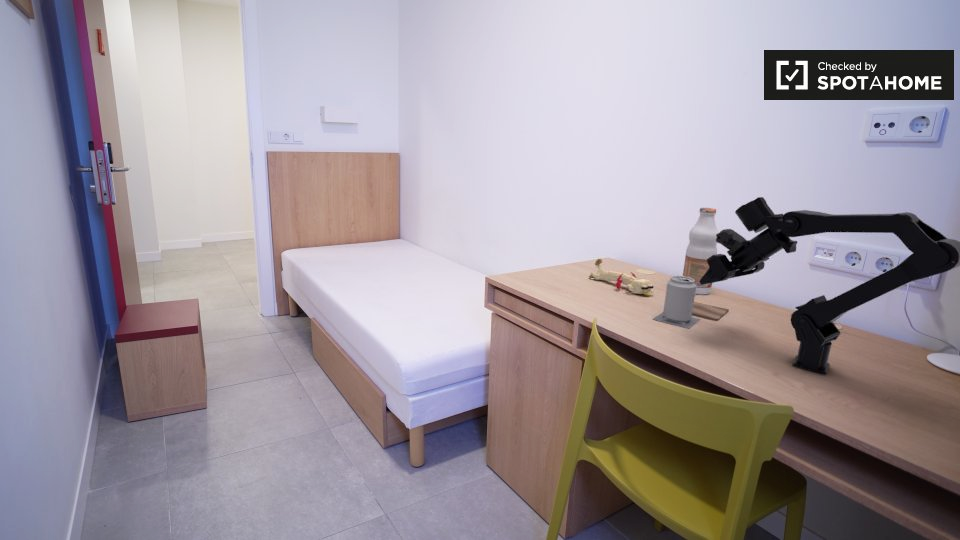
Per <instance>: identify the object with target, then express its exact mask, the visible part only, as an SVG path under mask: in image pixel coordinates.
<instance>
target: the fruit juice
mask: <svg viewBox="0 0 960 540" xmlns="http://www.w3.org/2000/svg"><path fill="white" fill-rule="evenodd" d="M716 215H717V209H716V208H713V207H700V208H699V218H698V219H697V221H696V222H695V224H694V226H693V227H692V228H691V229H690V230H689V234H688V240H689V243H688V245H687V247H686V251H685V256H684V257H685V258H684V265H683V272H682V276H685V277H690V278H692V279H694V280H695V281H694V283H695V284H696V292H695V295H700V296H701V295H708V294H710V293H711V291H712V287H713V283H708V284H703V285H701V284H700V282H699V281H700V279H701V278H702V277H703V276H704V274H705V273H706V272H707V270H708V269H709V265H708V262H707V259H708V258H709V257H711V256H712V255H716V254H718V248H717V244H718V242H716V238H717V236H716V234H718V233H720V232H719V230H718V228H717V225H716V220H715V216H716Z"/></svg>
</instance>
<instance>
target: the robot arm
mask: <svg viewBox="0 0 960 540" xmlns="http://www.w3.org/2000/svg"><path fill="white" fill-rule="evenodd" d="M734 213H735V215H736V216H737V218H738V219H739V220H740V222H741V223H742V224H743V226H744V228H745V229H746V230H747V232H749V233H750V232H754V233H755V234H757V235H755V236H754V237H752V238H751V239H748V240H747V239H746V238H745V237H743V236H742V235H741V234H740V233H738V232H737V231H735V230H733V229H731V228H726V229H722V230H720V232H719V233H718V234H716V236H717V238H716V242H717V244H720V245H722V246H723V247H724V248H726V249H727V251H726V253H727V254H728V256H730V259H729V258H728V257H727V255H726V254H723V253H717V254H716V255H712V256H711V257H709V258H708V259H707V262H708V265H709V269H708V270H707V272H706V273H705V274H704V276H703V277H702V278H701V279H700V281H699V282H700V284H701V285H703V284H708V283H712V284H714V283H718V282H724V281H728V279H733V278H738V277H744V276H747V275H752V274H756V273H758V272H760V271H762V270H763V269H765V264H766V263H765V262H767V261H769V260H770V257H772V256H774V255H775V254H777V253H778V252H780V251H782V250H784V252H785V253H786V254H791V253H795V252H796V251H797V244H798V241H797V240H793V239H791V238H796V237H804V236H812V235H818V234H825V233H865V234H866V233H868V234H869V233H871V234H872V233H874V234H875V233H876V234H877V233H880V234H881V233H882V234H885V233H886V234H887V233H890V234H891V233H892V234H894V235H895V236H896V237H897V238H898V239H899V240H900V241H901V242H902V244H903V245H904V246H905V247H906V248H907V249H908V251H910V252H911V254H910V255H909V256H908V257H906V258H905V259H904V260H902V261H901V262H900V263H899V264H898V265H896V266H895V267H892V268H891V269H889V270H887V271H885V272H883V273H881V274H879V275H877V276H875V277H873V278H871V279H868V280H867V281H865V282H863V283H861V284H859V285H857V286H855V287H853V288H851V289H849V290H846V291H845V292H843V293H841V294H839V295H837V296H835V297H833V298H830V299H827V298H826V296H825V295H824V294H823V295H820V296H817V297H814V298H811V299H810V300H808V301H807V302H806V303H805V304H801V305H798V306H795V311H793V312H792V313H791V314H790V316H791V317H790V324H791V327H792V328H793V329H794V332H795V338H796V341H798V342H799V346H798V351H797V354H796V356H795V357H794V359H793V362H792V364H791V365H792V366H793V367H796V368H800V369H804V370H808V371H811V372H816V373H820V374H824V375H827V374H828V370H829V368H830V362H828V360H829V358H830V353H831V350H832V349H831V348H832V342H833V341H837V339H838V338H839V337H840V335H841V331H840V330H839V329H838V327H837V325H836V324H835V322H836V321H838V319H840V318H841V317H843V316H844V315H845V314H846V313H848V312H849V311H851V310H854V309H855V308H859V307H860V306H862V305H865V304H866V303H870V302H871V301H873V300H875V299H878V298H880V297H882V296H884V295H886V294H888V293H890V292H892V291H895V290H896V289H898V288H901V287H903V286H906V284H910V283H911V282H915V281H918V280H922V279H925V278H929V277H933V276H936V275H940V274H942V273H946V272H949V271H951V270H954V269H956V268H959V267H960V241H958V240H957V239H952V238H948V237H947V236H945V235H944V234H942V233H941V232H940V231H938V230H937V229H935V228H934V227H932V226H930V224H927V223H925V222H924V221H923V220H922V219H920V218H919V217H918V215H916V214H915V213H912V212H909V211H908V212H907V211H906V212H899V213H869V214H868V213H861V214H859V213H857V214H856V213H855V214H854V213H853V214H831V213H826V212H823V211H822V212H821V211H815V210H807V209H803V210H802V209H801V210H793V211H792V210H791V211H787V212H784V213H779V214H775V213H774V211H773V210H772V209H771V207H770V206H769V204H768V203H767V200H766V199H765V198H764V197H763V196H761V197H760V196H758V197H756V198H755V199H754V200H751V201H748V202H746V203H745V204H741V206H739V207H738V208H737V209H736V210H735V212H734ZM758 233H759V234H758Z"/></svg>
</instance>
